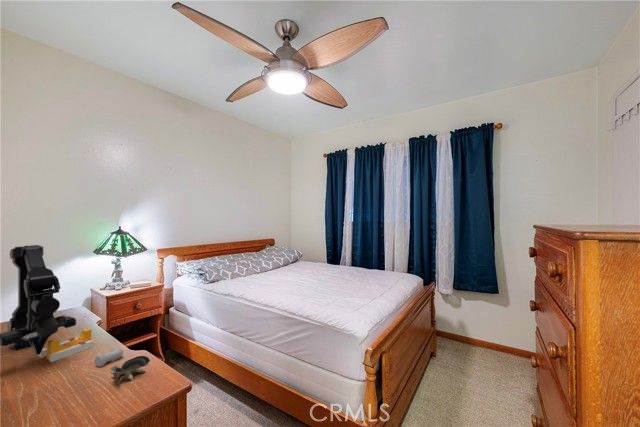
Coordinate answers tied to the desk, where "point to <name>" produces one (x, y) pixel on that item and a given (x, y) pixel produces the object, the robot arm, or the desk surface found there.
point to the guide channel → (69, 351)
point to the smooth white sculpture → (108, 357)
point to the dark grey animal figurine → (129, 368)
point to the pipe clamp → (54, 345)
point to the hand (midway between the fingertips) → (38, 354)
